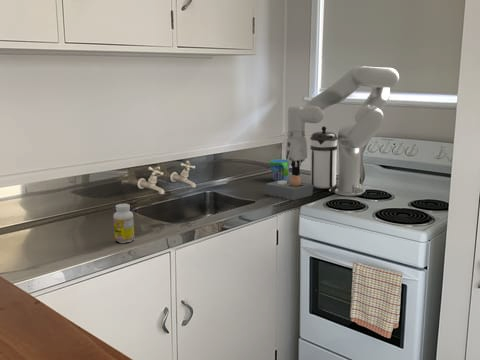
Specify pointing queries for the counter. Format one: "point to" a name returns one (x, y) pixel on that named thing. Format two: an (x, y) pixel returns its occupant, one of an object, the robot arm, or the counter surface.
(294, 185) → the terracotta plug
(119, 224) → the supplement bottle
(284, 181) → the plug
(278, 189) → the block
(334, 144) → the coffee press
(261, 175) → the counter surface
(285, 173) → the snack cup
